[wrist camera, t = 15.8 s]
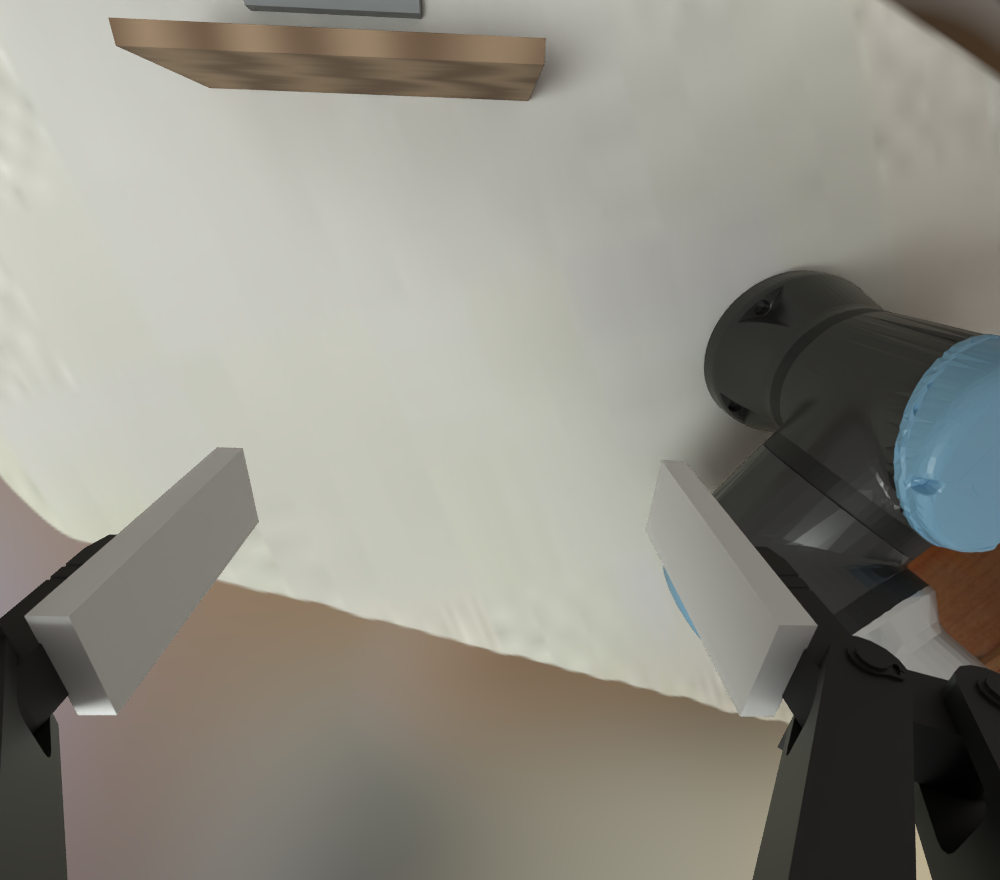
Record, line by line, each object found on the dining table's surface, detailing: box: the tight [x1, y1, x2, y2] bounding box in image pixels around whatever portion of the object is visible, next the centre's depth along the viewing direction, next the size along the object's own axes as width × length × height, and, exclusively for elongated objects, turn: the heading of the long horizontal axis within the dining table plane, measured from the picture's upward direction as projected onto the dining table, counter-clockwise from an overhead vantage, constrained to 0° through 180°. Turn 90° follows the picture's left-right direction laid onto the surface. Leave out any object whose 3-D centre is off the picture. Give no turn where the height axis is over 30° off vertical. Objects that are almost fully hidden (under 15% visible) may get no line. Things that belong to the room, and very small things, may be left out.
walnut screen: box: [109, 18, 546, 101], centre depth 31 cm, size 24×1×10 cm, turn 88°
